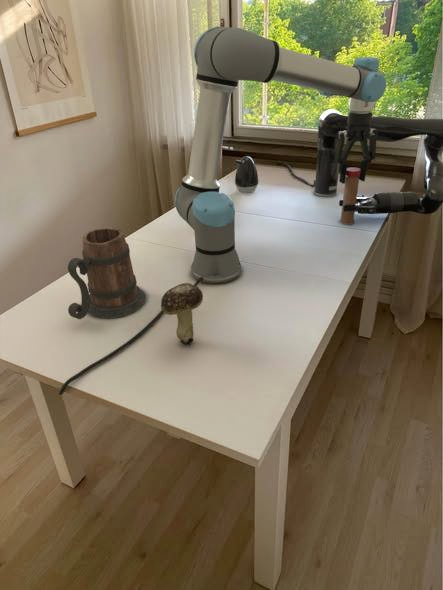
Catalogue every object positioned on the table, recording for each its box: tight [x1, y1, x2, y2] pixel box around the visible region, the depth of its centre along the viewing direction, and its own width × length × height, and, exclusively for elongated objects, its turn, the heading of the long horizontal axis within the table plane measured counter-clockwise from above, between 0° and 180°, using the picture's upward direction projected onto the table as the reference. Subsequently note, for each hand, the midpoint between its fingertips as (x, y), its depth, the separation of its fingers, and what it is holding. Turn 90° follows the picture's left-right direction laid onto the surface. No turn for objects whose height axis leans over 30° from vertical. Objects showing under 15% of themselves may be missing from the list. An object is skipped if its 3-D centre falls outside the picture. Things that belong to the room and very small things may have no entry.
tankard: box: [67, 227, 147, 320], centre depth 116 cm, size 24×17×20 cm
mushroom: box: [160, 282, 204, 346], centre depth 103 cm, size 9×9×15 cm
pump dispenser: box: [234, 155, 259, 194], centre depth 191 cm, size 10×10×15 cm
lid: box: [346, 166, 361, 177], centre depth 154 cm, size 5×5×2 cm
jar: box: [340, 175, 360, 225], centre depth 159 cm, size 5×5×19 cm
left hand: (351, 181), depth 156 cm, fingers open, 7 cm apart
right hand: (341, 205), depth 160 cm, fingers closed on jar, 4 cm apart
